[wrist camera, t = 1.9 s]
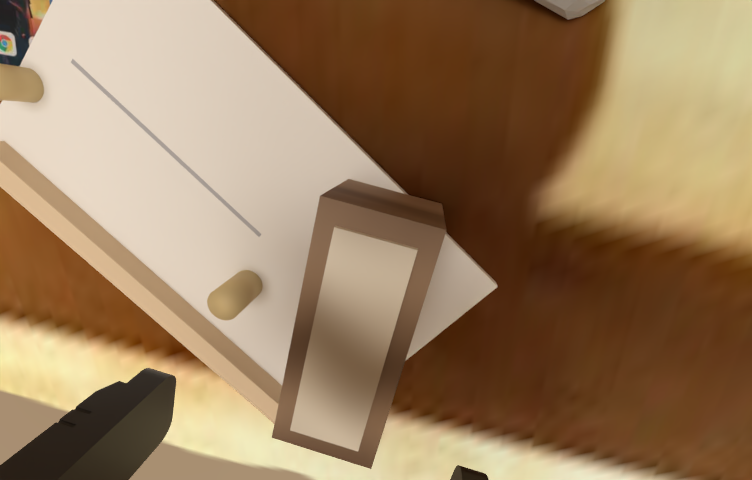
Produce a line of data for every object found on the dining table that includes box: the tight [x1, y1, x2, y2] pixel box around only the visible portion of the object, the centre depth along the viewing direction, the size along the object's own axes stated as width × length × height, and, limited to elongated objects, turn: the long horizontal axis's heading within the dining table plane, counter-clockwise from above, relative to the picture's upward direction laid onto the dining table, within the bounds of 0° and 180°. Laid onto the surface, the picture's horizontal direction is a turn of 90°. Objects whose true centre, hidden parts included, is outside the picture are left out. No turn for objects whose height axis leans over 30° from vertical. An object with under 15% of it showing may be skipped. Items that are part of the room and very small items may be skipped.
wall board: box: [0, 0, 498, 424], centre depth 18 cm, size 14×24×3 cm, turn 46°
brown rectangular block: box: [272, 179, 446, 469], centre depth 17 cm, size 11×4×5 cm, turn 166°
